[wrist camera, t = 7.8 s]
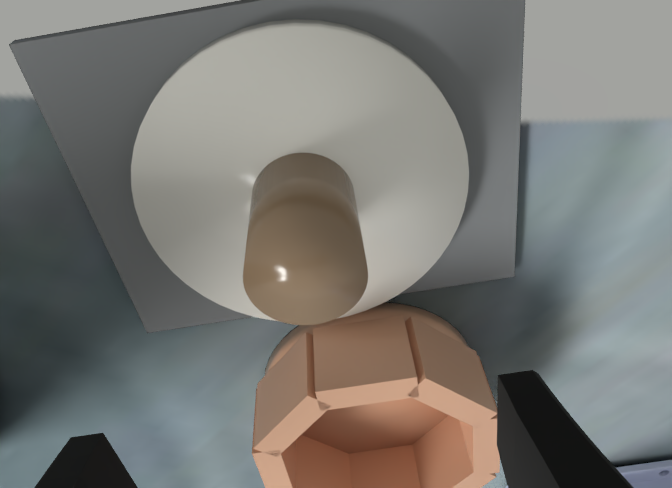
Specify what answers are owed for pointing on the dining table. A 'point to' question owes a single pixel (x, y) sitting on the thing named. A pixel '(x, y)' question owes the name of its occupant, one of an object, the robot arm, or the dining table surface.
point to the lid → (299, 171)
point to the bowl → (375, 406)
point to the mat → (255, 8)
